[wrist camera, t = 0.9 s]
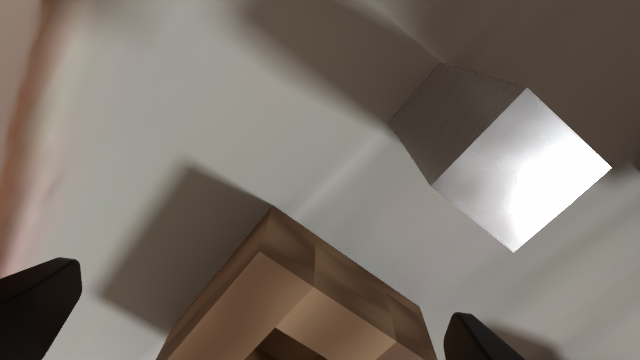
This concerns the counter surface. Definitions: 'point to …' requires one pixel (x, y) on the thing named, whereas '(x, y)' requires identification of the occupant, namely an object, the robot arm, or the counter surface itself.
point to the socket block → (296, 306)
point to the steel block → (495, 151)
